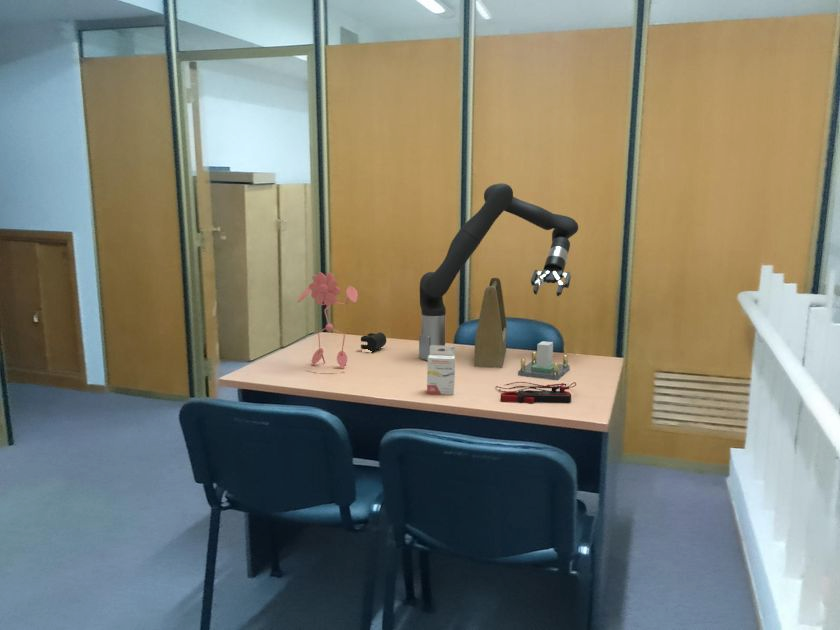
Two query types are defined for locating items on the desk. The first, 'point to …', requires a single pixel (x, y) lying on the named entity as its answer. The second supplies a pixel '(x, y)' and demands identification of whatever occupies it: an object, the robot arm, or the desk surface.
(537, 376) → the standoff chassis
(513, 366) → the desk surface
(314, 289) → the figurine
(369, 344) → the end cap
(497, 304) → the caddy
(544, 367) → the board module
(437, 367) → the ink cartridge box
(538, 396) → the digital clamp meter
